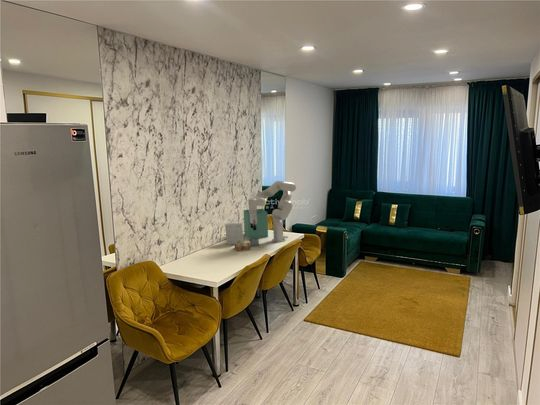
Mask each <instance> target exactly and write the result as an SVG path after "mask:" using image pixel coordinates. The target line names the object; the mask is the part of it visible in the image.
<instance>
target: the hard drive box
mask: <svg viewBox="0 0 540 405" xmlns="http://www.w3.org/2000/svg"><path fill="white" fill-rule="evenodd" d="M243 230H244V229H243V223H242V222H227V223H226V224H225V239H226V245H235V244H239V243H244V236H243V235H244V233H243Z"/></svg>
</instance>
